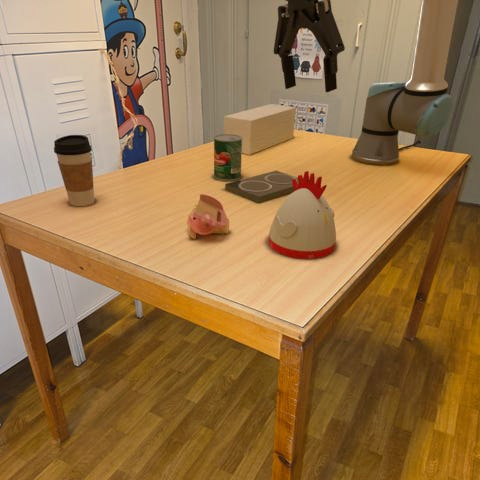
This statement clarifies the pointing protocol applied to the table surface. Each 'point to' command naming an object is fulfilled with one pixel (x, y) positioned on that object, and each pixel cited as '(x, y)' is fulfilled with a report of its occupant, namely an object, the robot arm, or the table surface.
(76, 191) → the coffee cup
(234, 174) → the canned tomato
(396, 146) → the robot arm
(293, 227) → the kitchen timer
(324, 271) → the table surface
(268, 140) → the beige rectangular block
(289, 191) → the hob
